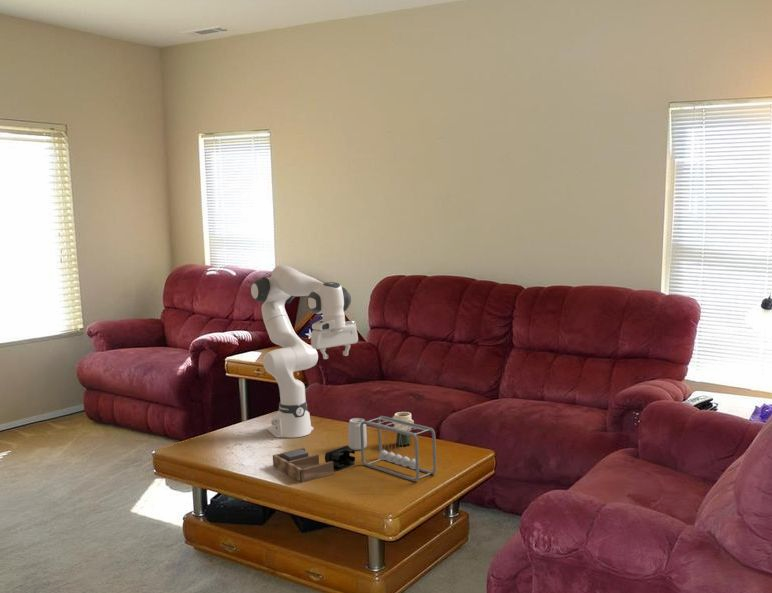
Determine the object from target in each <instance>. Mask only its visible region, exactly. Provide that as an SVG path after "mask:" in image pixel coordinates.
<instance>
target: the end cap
mask: <svg viewBox="0 0 772 593" xmlns="http://www.w3.org/2000/svg"><path fill="white" fill-rule="evenodd" d="M351 454H354V455H355V454H356V450H353V449H351V448H350V447H349V445H343V446H340V447H337V448H336V449H335V448H334V449H332V450H329V451H327V452H326V453H325V454H324V463H327V462H331V461H332V462H333V468H334V470H335V471H339V472H340V471H341V470H344V469H347V468H350V467H352V466H355V461H356V456H354V455H351Z"/></svg>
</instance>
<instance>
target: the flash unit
mask: <svg viewBox="0 0 772 593" xmlns="http://www.w3.org/2000/svg"><path fill="white" fill-rule="evenodd" d="M298 449H299V450H296V449H294V450H295V451H292V450H290V451H291V452H288V451H285V452H286V453H284V452H282V453H283V459H285V460H287V461H293V460H296V459H300V458H304V457H308V456H310V454H309V452H307V451H306V450H305V451H304V450H302V449H300V448H298Z"/></svg>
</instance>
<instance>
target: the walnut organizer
mask: <svg viewBox="0 0 772 593" xmlns="http://www.w3.org/2000/svg"><path fill="white" fill-rule="evenodd" d="M299 449H302V450H304V451H306V448H305V447H301V448H296V449H293V450H289V451H285V452H280V453H276V454H272V466H273V467H274V468H275V469H277V470H278V471H281V472H283V473H284V474H286V475H288V476H289V477H291V478H293V479H295V480H296V481H298V482H301V483H305V482H308V481H312V480H315V479H320V478H323V477H327V476H330V475H333V474H334V472H335V471H334V468H333V462H332V461H331V462H327V463H326V462H323V463H320V458H319V456H320V455H319V454H318V453H316V454H313V455H309V456H308V457H304V458H300V459H296V460H293V461H287V460H285V459H283V453H286V452H291V451H295V450H299Z"/></svg>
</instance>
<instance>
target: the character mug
mask: <svg viewBox="0 0 772 593" xmlns="http://www.w3.org/2000/svg"><path fill="white" fill-rule="evenodd" d="M392 418H393V419H397V420H401V421H405V422H409V423H413V424H415V423H414V422H415V421H414V420H413V419H412V413H411V412H409V411H401V412H400V411H399V412H396V413H394V415H393V416H392ZM392 424H393V425H394V428H397V429H401V430H405V431H409V430H410V431H411V430H412V429H414V428H413V427H409V430H408V426H405V425H401V424H397V423H393V422H392ZM398 425H399V426H398ZM410 431H409V432H410ZM408 438H409V440H407V435H404V434H401V436H400V433H396V441H395V444H396V445H398V446H402V445H403V446H405V445H406V446H408V445H409V443H410V444H412V441H411V440H412V439H411V438H412V437H411V436H408ZM399 440H400V445H399ZM401 440H402V442H401Z"/></svg>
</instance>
